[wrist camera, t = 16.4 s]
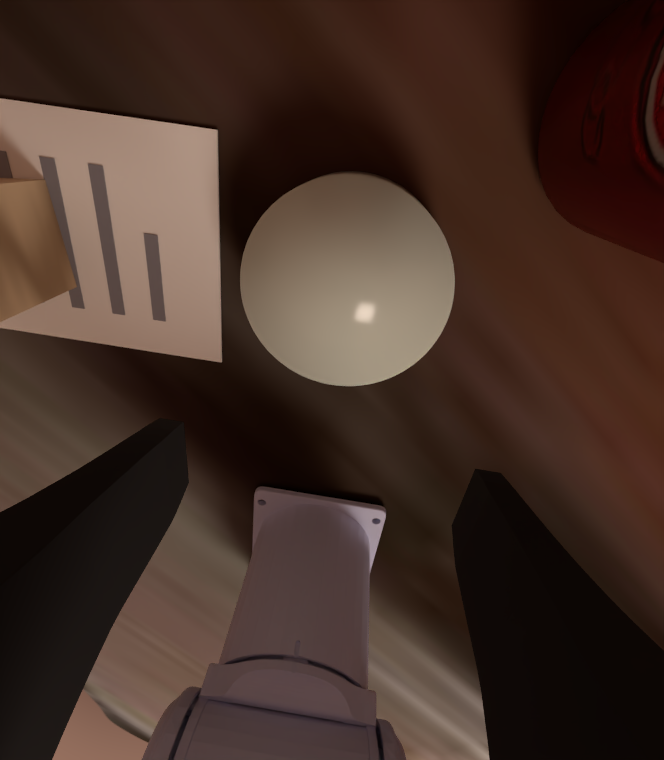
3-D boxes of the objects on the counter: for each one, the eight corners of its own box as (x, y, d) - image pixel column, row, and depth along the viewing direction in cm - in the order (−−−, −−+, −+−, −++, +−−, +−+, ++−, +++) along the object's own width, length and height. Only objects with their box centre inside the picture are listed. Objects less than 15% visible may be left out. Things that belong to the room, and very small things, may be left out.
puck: (421, 364, 19) (428, 397, 17) (259, 343, 20) (242, 373, 17) (464, 182, 15) (482, 189, 13) (260, 159, 16) (237, 162, 13)
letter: (222, 361, 20) (221, 363, 20) (-46, 319, 20) (-49, 320, 20) (218, 130, 15) (216, 129, 15) (-140, 78, 15) (-144, 77, 15)
